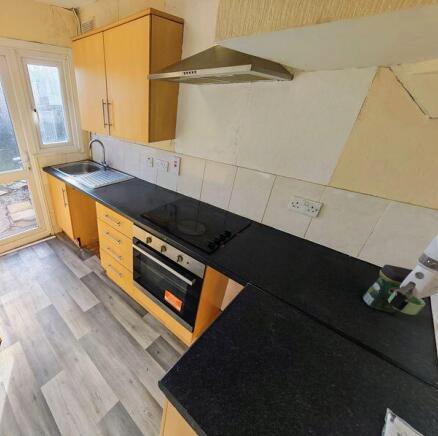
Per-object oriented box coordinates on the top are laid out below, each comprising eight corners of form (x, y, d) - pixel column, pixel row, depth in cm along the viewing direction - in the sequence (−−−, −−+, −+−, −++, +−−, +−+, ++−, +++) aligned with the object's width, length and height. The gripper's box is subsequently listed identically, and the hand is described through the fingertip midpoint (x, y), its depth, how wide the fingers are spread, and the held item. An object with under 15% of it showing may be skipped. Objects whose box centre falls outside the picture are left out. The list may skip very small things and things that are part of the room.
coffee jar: (386, 301, 93) (413, 266, 85) (397, 316, 87) (428, 279, 78) (358, 294, 96) (381, 259, 87) (367, 308, 89) (393, 272, 81)
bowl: (395, 297, 80) (403, 287, 78) (421, 313, 74) (430, 303, 72) (381, 300, 78) (389, 290, 76) (407, 317, 72) (416, 307, 70)
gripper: (436, 276, 62) (399, 319, 70) (473, 267, 66) (434, 309, 75) (403, 259, 68) (372, 301, 76) (438, 252, 73) (406, 292, 81)
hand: (403, 304), depth 75 cm, fingers closed on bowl, 7 cm apart
